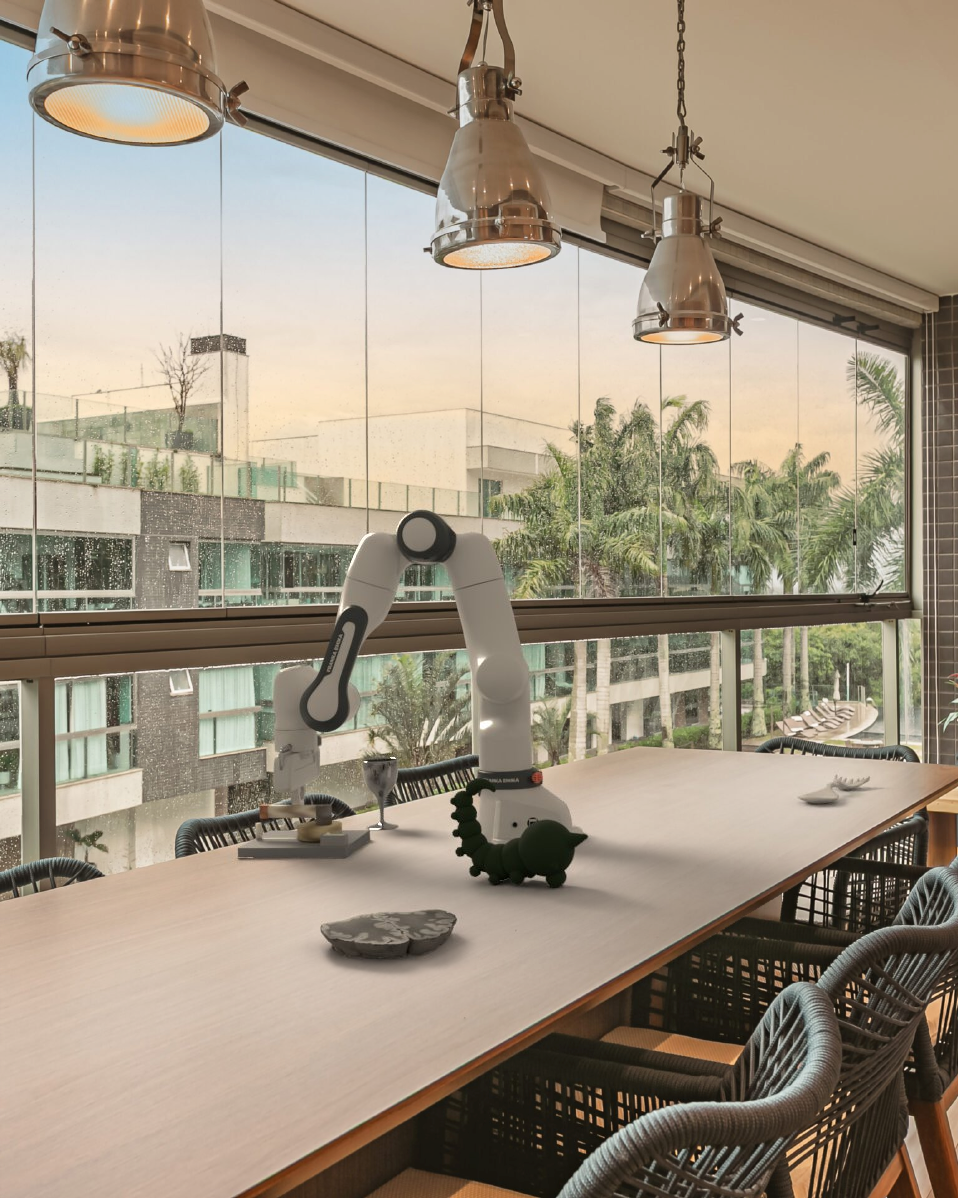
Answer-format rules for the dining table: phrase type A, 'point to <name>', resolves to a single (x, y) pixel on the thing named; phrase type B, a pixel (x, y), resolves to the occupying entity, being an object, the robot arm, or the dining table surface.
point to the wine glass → (380, 783)
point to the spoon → (831, 790)
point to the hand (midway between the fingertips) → (298, 808)
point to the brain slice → (390, 933)
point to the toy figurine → (513, 844)
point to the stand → (303, 844)
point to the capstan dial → (307, 829)
